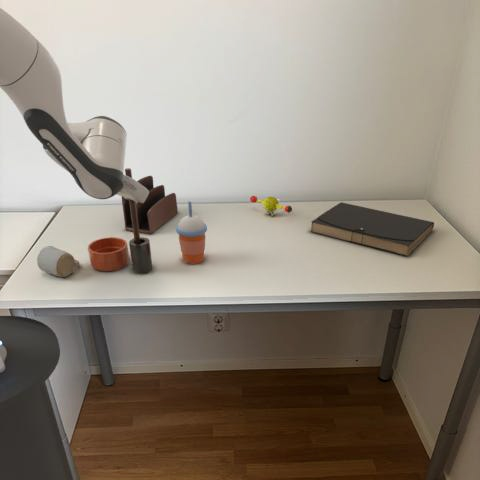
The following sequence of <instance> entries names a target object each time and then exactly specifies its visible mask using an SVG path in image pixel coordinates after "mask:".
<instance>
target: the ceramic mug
mask: <svg viewBox="0 0 480 480" xmlns="http://www.w3.org/2000/svg"><path fill="white" fill-rule="evenodd" d="M36 262H37V266H38V268H39V270H40V271H42V272H44V273H47V274H50V275H54V276H56V277H59V278H66V277H68V276H70V275H71V274H73V272H74V270H75V268H79V267H80V261H79V260H78V259H75V257H74V256H73V255H72V254H71V253H69V252H68V251H66V250H63V249H61V248H57V247H55V246H52V245H47V246H43V247H42V248H41V249H40V251H39V252H38V254H37V257H36Z"/></svg>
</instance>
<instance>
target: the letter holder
mask: <svg viewBox="0 0 480 480" xmlns="http://www.w3.org/2000/svg"><path fill="white" fill-rule="evenodd" d="M136 181H137V182H138V183H140V184H141V185H142V186H144V187H145V188H146V189H148V191H149V194H148V196H147V198H146V200H145V202H144V203H140V202H135V203H136V211H137V219H138V226H139V234H140V233H141V234H146V235H147V234H148V235H151V234H153V233H154V232H156V231H157V230H158V229H159V228H161V227H162V226H163V225H164V224H166V223H167V222H169V220H171V219H172V218H173V217H175V216H176V215H177V214H179V211H178V201H177V194H176V193H175V192H171V193H169V194H167V195H166V189H165V185H164V184H161V185H157V186H155V185H154V177H153V176H152V175H146V176H144V177H142V178H139V179H138V180H136ZM154 186H155V187H154ZM121 203H122V204H121V205H122V212H123V221H124V228H125V229H124V230H125V231H128V232H133V226H132V218H131V211H130V204H129V200H128V199H125V198H124V197H123V196H121Z"/></svg>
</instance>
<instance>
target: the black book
mask: <svg viewBox="0 0 480 480" xmlns="http://www.w3.org/2000/svg"><path fill="white" fill-rule="evenodd" d="M310 223H311V224H310V233H313V234H318V235H321V236H325V237H330V238H333V239H337V240H341V241H344V242H349V243H351V244H352V243H353V244H357V245H361V246H364V247H367V248H368V247H369V248H373V249H376V250H381V251H384V252H388V253H393V254H396V255H401V256H405V257H409V255H410V254H411V253H412V252H413V251H414V250H415V249H417V247H418V246H419V245H420V244H421V243H422V242H423V241H424V240H425V239H426V238H427V237H428V236H429V235H430V234H431V233H432V231H433V229H434V226H435V222H434V221H429V220H425V219H422V218H416V217H412V216H406V215H403V214H397V213H394V212H393V213H392V212H389V211H384V210H379V209H374V208H370V207H364V206H360V205H356V204H351V203H347V202H343V201H342V202H341V201H340V202H339V203H338V204H336V205H333V206H332V207H331V208H330V209H328V210H326V211H324V212H323V213H321V214H320V215H318V216H317V217H316V218H315V219H313V220H311V221H310Z"/></svg>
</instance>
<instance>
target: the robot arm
mask: <svg viewBox="0 0 480 480" xmlns="http://www.w3.org/2000/svg"><path fill="white" fill-rule="evenodd" d="M0 89H1V90H2V91H3V92H4V93H5V94H6V95H7V96H8V98H9V99H10V100H11V101H12V103H13V104H14V106H15V107H16V108H17V110H18V111H19V113H20V115H21V116H22V118H23V121H24V123H25V124H26V126H27V128H28V129H29V131H30V132H31V134H32V135H33V136H34V137H35V138H36V139H37V140H38V142H40V144H41V145H42V148H43V151H44V152H45V154H46V155H47V156H48V157H49V158H50V159H51V160H52V161H54V162H55V163H56V164H57V165H58V166H59V167H61V168H62V169H64V170H65V171H67V172H68V173H69V175H71V177H72V178H73V180H74V181H75V183H76V184H77V186H78V187H79V188H80V189H81V190H82V191H83V193H85V194H86V195H87V196H89V197H91V198H93V199H96V200H108V199H110V198H113V197H114V196H116V195H117V196H119V197H122V196H123V197H124V198H125V199H128V200H129V199H131V200H132V201H134V202H140V203H144V202H145V200H146V198H147V196H148V194H149V191H148V189H146V188H145V187H144V186H142V185H141V184H140V183H138V182H137V181H138V180H136V179H134V178H133V177H132V178H131V177H129V176H126V175H125V173H124V171H125V161H126V160H125V158H126V150H127V149H126V147H127V134H128V133H127V131H126V129H125V128H124V126H123V125H121V123H120V122H118V121H117V120H115V119H113V118H111V117H109V116H106V115H97V116H94V117H92V118H90V119H88V120H86V121H83V122H68V120H67V117H66V112H65V106H64V98H63V97H64V96H63V80H62V74H61V71H60V68H59V65H58V64H57V62H56V61H55V59H54V57H53V56H52V55H51V53H50V52H49V50H47V48H46V47H45V46H44V45H43V44H42V43H41V42H40V41H39V40H38V39H37V38H36V37H35V36H34V34H32V33H31V32H30V31H29V30H28V29H27V28H26V27H25V26H24V25H23V24H22V23H20V22H19V21H18V20H17V19H15V17H13V16H12V15H11V14H10V13H8V12H7V11H5V9H3V8H2V7H0ZM6 355H7V350H6V348H5V347H4V346H3V344H2V342H1V341H0V373H1V372H3V371H4V370H5V364H4V361H5V358H6Z"/></svg>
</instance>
